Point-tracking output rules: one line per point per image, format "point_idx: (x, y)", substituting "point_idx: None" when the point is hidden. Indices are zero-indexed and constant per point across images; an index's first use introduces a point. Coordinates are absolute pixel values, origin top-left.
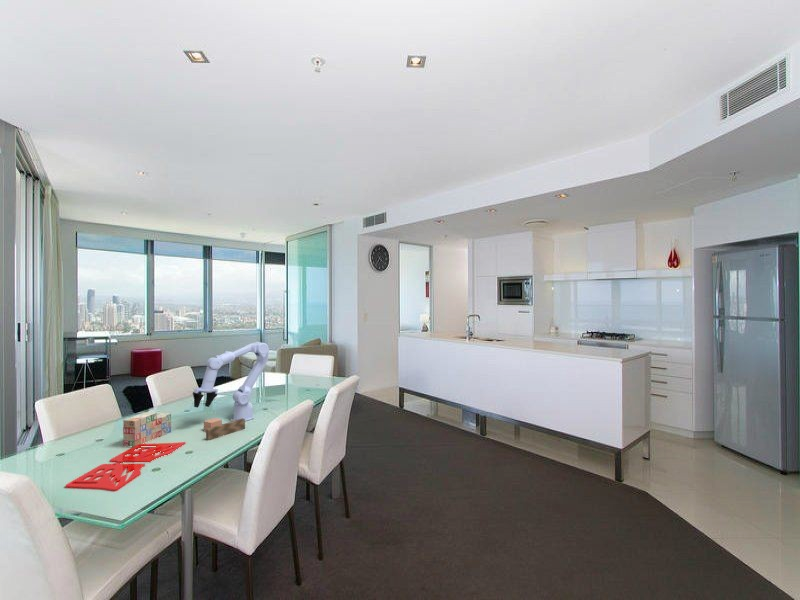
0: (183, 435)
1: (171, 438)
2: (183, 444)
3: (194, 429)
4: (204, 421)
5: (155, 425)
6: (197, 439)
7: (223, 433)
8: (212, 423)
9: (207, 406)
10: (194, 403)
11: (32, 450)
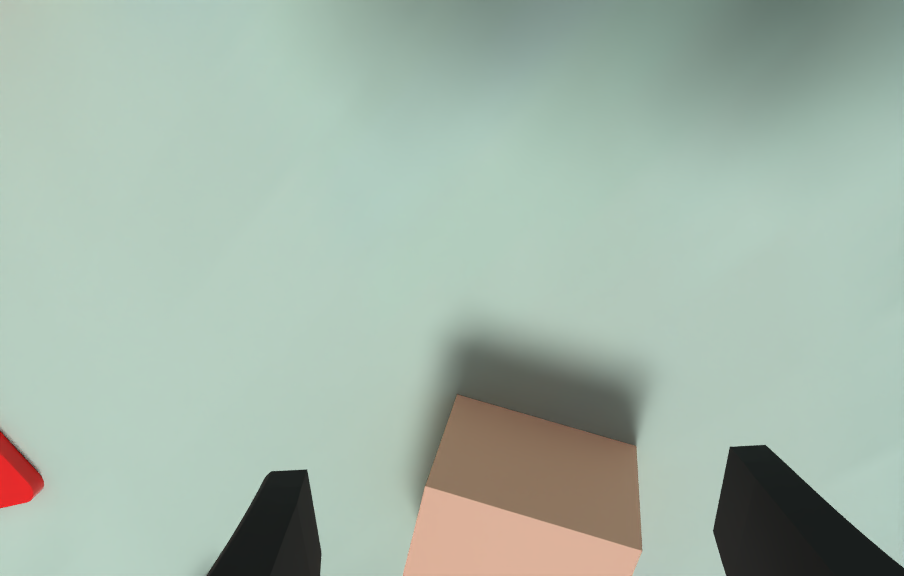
0: (193, 273)
1: (44, 209)
2: (5, 501)
3: (449, 226)
4: (423, 498)
5: None
6: (185, 527)
7: None
8: None
9: (718, 521)
10: (234, 549)
11: None
